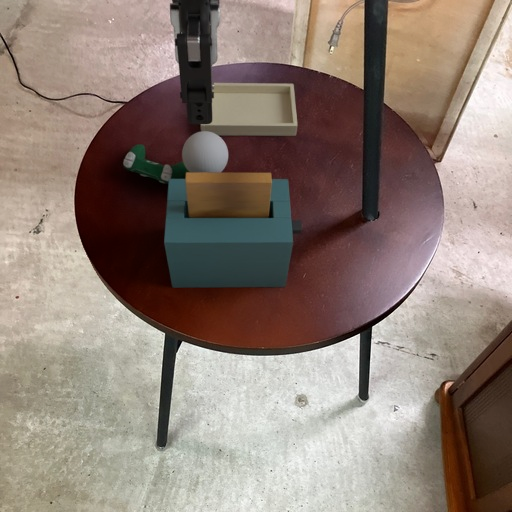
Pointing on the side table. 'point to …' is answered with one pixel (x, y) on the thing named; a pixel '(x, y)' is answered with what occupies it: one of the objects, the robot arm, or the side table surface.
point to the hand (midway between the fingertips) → (200, 89)
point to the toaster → (229, 243)
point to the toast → (228, 195)
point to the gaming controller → (152, 166)
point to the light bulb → (205, 153)
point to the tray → (253, 110)
